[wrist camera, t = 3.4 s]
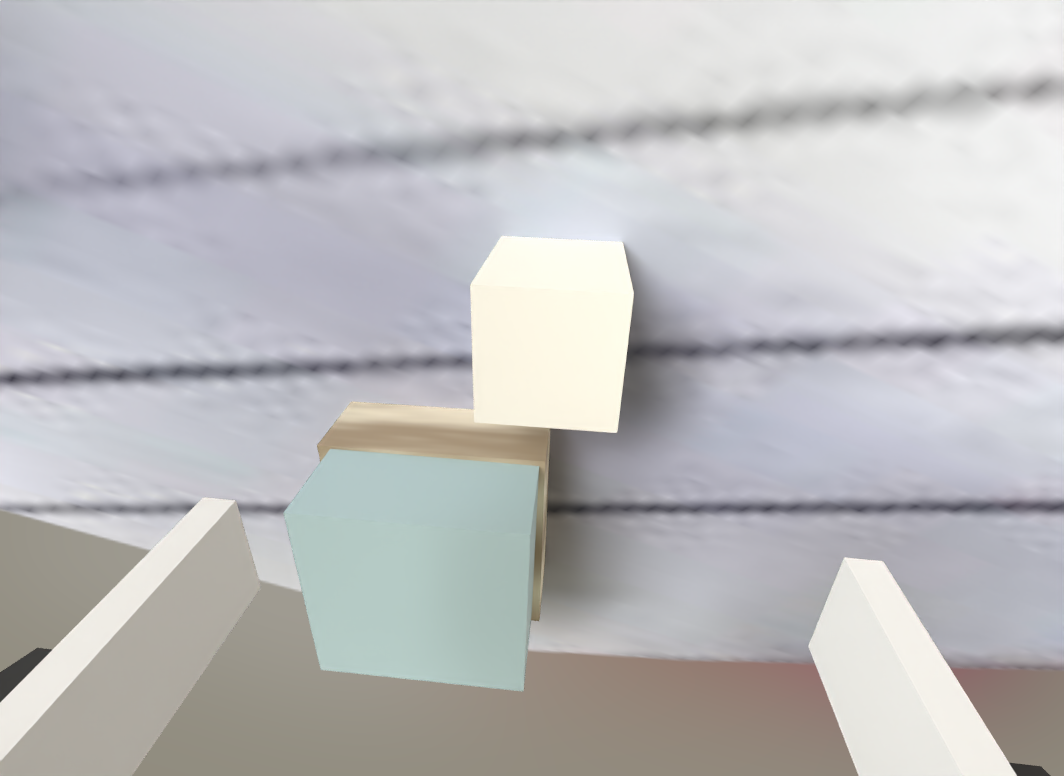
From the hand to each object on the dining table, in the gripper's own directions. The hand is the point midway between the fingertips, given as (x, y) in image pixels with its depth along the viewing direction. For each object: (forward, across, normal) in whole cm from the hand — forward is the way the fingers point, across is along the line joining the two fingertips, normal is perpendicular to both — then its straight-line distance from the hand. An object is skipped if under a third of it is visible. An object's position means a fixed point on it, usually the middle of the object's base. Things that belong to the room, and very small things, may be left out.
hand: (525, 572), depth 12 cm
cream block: (+18, 0, 0) cm, 19 cm away
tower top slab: (+14, -6, -13) cm, 20 cm away
